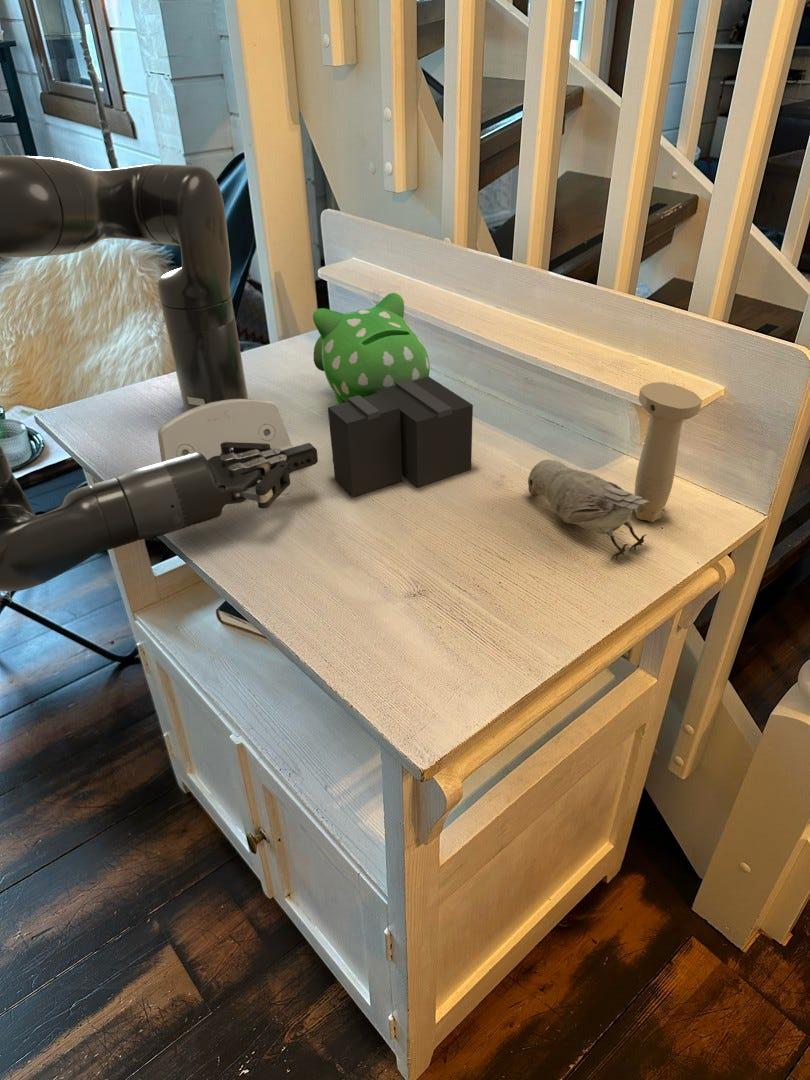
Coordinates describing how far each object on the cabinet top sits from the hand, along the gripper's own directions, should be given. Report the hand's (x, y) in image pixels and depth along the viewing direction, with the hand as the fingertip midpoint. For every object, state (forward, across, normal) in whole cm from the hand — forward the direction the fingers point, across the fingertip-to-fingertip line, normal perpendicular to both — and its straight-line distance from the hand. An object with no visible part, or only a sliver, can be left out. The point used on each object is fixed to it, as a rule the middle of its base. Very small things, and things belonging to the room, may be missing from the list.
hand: (314, 452), depth 89 cm
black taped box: (+15, 0, +6) cm, 16 cm away
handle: (+30, -24, +6) cm, 39 cm away
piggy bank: (+17, +17, +6) cm, 25 cm away
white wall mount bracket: (-7, +12, +6) cm, 15 cm away
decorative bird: (+22, -22, +6) cm, 32 cm away
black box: (+7, 0, +6) cm, 9 cm away
